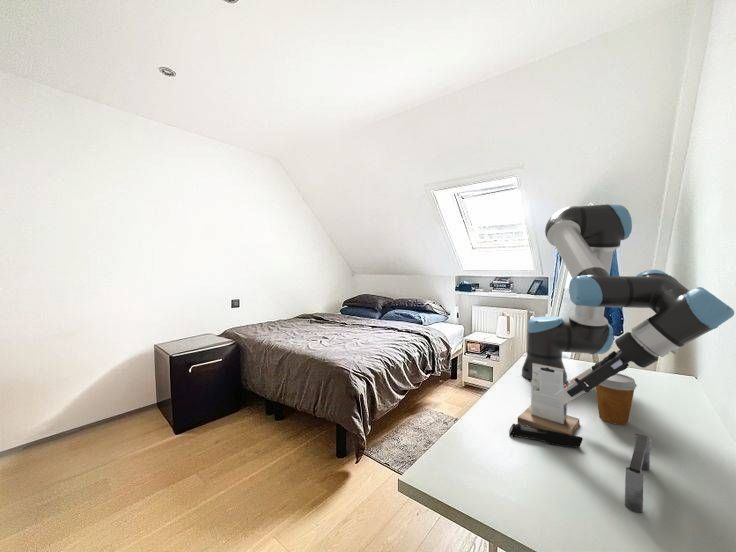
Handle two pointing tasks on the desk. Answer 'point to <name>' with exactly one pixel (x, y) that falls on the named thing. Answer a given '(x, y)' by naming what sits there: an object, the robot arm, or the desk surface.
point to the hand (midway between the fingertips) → (566, 392)
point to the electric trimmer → (545, 435)
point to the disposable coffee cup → (615, 398)
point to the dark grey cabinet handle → (637, 473)
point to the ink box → (547, 393)
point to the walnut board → (548, 423)
